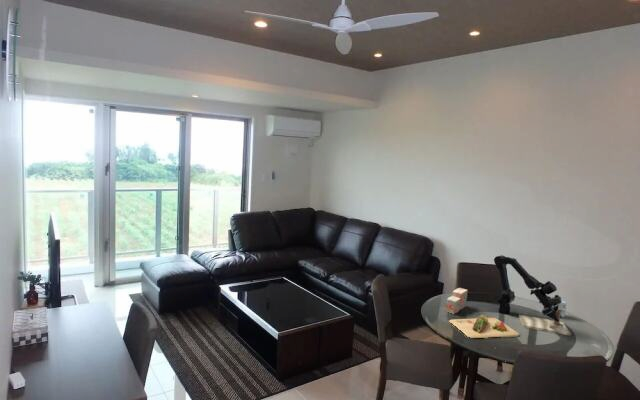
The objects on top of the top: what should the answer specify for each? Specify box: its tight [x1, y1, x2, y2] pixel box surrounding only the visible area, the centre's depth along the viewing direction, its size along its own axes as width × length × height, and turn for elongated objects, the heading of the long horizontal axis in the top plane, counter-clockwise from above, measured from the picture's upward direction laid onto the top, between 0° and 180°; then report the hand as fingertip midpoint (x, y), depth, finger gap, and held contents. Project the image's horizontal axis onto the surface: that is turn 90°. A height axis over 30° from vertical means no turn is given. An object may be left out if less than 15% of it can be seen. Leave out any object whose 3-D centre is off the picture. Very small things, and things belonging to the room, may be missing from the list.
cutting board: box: [448, 314, 520, 339], centre depth 240 cm, size 35×23×8 cm
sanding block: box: [549, 309, 563, 331], centre depth 243 cm, size 6×7×12 cm
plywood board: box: [518, 314, 572, 337], centre depth 250 cm, size 26×17×2 cm, turn 72°
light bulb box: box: [558, 298, 567, 318], centre depth 268 cm, size 11×7×11 cm, turn 84°
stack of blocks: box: [445, 287, 469, 315], centre depth 268 cm, size 21×6×12 cm, turn 139°
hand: (559, 319), depth 242 cm, fingers open, 8 cm apart
